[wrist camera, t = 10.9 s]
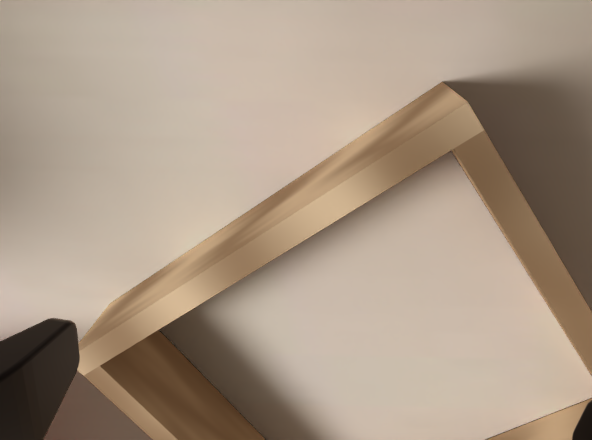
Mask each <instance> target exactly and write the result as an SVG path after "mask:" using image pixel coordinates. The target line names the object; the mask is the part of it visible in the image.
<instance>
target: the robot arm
mask: <svg viewBox="0 0 592 440" xmlns="http://www.w3.org/2000/svg"><path fill="white" fill-rule="evenodd" d="M79 361H80V354H79V345H78V336H77V328H76V325H75V323H74V322H72V321H70V320H63V319H56V318H51V319H47V320H45V321H43V322H41V323H39V324H36V325H34V326H32V327H30V328H28V329H26V330H24V331H22V332H19V333H17V334H15V335H13V336H11V337H9V338H7V339H4V340H2V341H0V440H43V439H44V437H45V435H46V433H47V431H48V429H49V427H50V425H51V423H52V421H53V419H54V417H55V414H56V412H57V410H58V408H59V406H60V404H61V402H62V400H63V398H64V396H65V394H66V392H67V390H68V388H69V386H70V384H71V382H72V380H73V378H74V376H75V374H76V371H77V369H78V366H79ZM572 440H592V400H591V401H589V402H588V404H587V405H586V407H585V409H584V411H583V413H582V415H581V417H580V419H579V421H578V423H577V425H576V427H575V429H574V432H573V436H572Z"/></svg>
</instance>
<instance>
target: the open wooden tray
mask: <svg viewBox="0 0 592 440" xmlns="http://www.w3.org/2000/svg"><path fill="white" fill-rule="evenodd" d="M449 151H452V153H453V154H454V156H455V157H456V159H457V161H458V162H459V164H460V165H461V167H462V169H463V170H464V172H465V173H466V175H467V177H468V178H469V180H470V182H471V183H472V185H473V186H474V188H475V190H476V191H477V193H478V194H479V196H480V198H481V199H482V201H483V202H484V204H485V206H486V207H487V209H488V210H489V212H490V214H491V215H492V217H493V218H494V220H495V222H496V223H497V225H498V226H499V228H500V230H501V231H502V233H503V234H504V236H505V238H506V239H507V241H508V242H509V244H510V246H511V247H512V249H513V250H514V252H515V254H516V255H517V257H518V258H519V260H520V262H521V263H522V265H523V266H524V268H525V270H526V271H527V273H528V274H529V276H530V278H531V279H532V281H533V283H534V284H535V286H536V287H537V289H538V291H539V292H540V294H541V295H542V297H543V299H544V300H545V302H546V303H547V305H548V307H549V308H550V310H551V311H552V313H553V315H554V316H555V318H556V319H557V321H558V323H559V324H560V326H561V327H562V329H563V331H564V332H565V334H566V335H567V337H568V339H569V340H570V342H571V343H572V345H573V347H574V348H575V350H576V351H577V353H578V355H579V356H580V358H581V359H582V361H583V363H584V364H585V366H586V367H587V369H588V371H589V372H590V374H591V375H592V312H591V310H590V308H589V306H588V305H587V303H586V301H585V300H584V298H583V296H582V295H581V293H580V291H579V290H578V288H577V286H576V284H575V283H574V281H573V279H572V278H571V276H570V274H569V273H568V271H567V269H566V267H565V266H564V264H563V262H562V261H561V259H560V257H559V256H558V254H557V252H556V251H555V249H554V247H553V245H552V244H551V242H550V240H549V239H548V237H547V235H546V234H545V232H544V230H543V228H542V227H541V225H540V223H539V222H538V220H537V218H536V217H535V215H534V213H533V212H532V210H531V208H530V206H529V205H528V203H527V201H526V200H525V198H524V196H523V195H522V193H521V191H520V189H519V188H518V186H517V184H516V183H515V181H514V179H513V178H512V176H511V174H510V173H509V171H508V169H507V167H506V166H505V164H504V162H503V161H502V159H501V157H500V156H499V154H498V152H497V150H496V149H495V147H494V145H493V144H492V142H491V140H490V139H489V137H488V135H487V134H486V132H485V130H484V128H483V127H482V125H481V123H480V122H479V120H478V118H477V117H476V115H475V113H474V111H473V110H472V108H471V106H470V105H469V103H468V102H467V101H466V100H465V99H463V98H462V97H461V96H460V95H458V94H457V93H456V92H455V91H453V90H452V89H451V88H450V87H448V86H447V85H446V84H445V83H443V82H441V83H440V84H438V85H437V86H435V87H434V88H432V89H431V90H429V91H428V92H426V93H425V94H423V95H422V96H420V97H419V98H417V99H416V100H414V101H413V102H411V103H410V104H408V105H407V106H405V107H404V108H402V109H401V110H399V111H398V112H396V113H395V114H393V115H392V116H390V117H389V118H387V119H386V120H384V121H383V122H381V123H380V124H378V125H377V126H375V127H374V128H372V129H371V130H369V131H368V132H366V133H365V134H363V135H362V136H360V137H359V138H357V139H356V140H354V141H353V142H351V143H350V144H348V145H347V146H345V147H344V148H342V149H341V150H339V151H338V152H336V153H335V154H333V155H332V156H330V157H329V158H327V159H326V160H324V161H323V162H321V163H320V164H318V165H317V166H315V167H314V168H312V169H311V170H309V171H308V172H306V173H305V174H303V175H302V176H300V177H299V178H297V179H296V180H294V181H293V182H291V183H290V184H288V185H287V186H285V187H284V188H282V189H281V190H279V191H278V192H276V193H275V194H273V195H272V196H270V197H269V198H267V199H266V200H264V201H263V202H261V203H260V204H258V205H257V206H255V207H254V208H252V209H251V210H249V211H248V212H246V213H245V214H243V215H242V216H240V217H239V218H237V219H236V220H234V221H233V222H231V223H230V224H228V225H227V226H225V227H224V228H222V229H221V230H219V231H218V232H216V233H215V234H213V235H212V236H210V237H209V238H207V239H206V240H204V241H203V242H201V243H200V244H198V245H197V246H195V247H194V248H192V249H191V250H189V251H188V252H187V253H185V254H184V255H182V256H181V257H179V258H178V259H176V260H175V261H173V262H172V263H170V264H169V265H167V266H166V267H164V268H163V269H161V270H160V271H158V272H157V273H155V274H154V275H152V276H151V277H149V278H148V279H146V280H145V281H143V282H142V283H140V284H139V285H137V286H136V287H134V288H133V289H131V290H130V291H128V292H127V293H125V294H124V295H122V296H121V297H119V298H118V299H116V300H115V301H113V302H112V303H110V304H109V305H108V307H107V308H106V309H105V310H104V312H103V313H102V314H101V316H100V317H99V318H98V319H97V321H96V322H95V323H94V324H93V326H92V327H91V328H90V330H89V331H88V332H87V333H86V335H85V336H84V337H83V339H82V340H81V341H80V342H79V344H78V345H79V354H80V361H79V366H78V369H77V370H78V371H79V372H80V373H81V374H82V375H83V376H84V377H85V378H86V379H87V380H89V381H90V382H91V383H92V384H93V385H94V386H95V387H96V388H97V389H98V390H99V391H100V392H102V393H103V394H104V395H105V396H106V397H107V398H108V399H109V400H110V401H111V402H112V403H113V404H115V405H116V406H117V407H118V408H119V409H120V410H121V411H122V412H123V413H124V414H125V415H126V416H128V417H129V418H130V419H131V420H132V421H133V422H134V423H135V424H136V425H137V426H138V427H139V428H141V429H142V430H143V431H144V432H145V433H146V434H147V435H148V436H149V437H150V438H151V439H152V440H265V439H264V438H263V437H262V436H261V435H260V433H259V432H258V431H257V430H256V429H255V428H254V427H253V426H252V425H251V424H250V423H249V422H248V421H247V420H246V419H245V418H244V417H243V416H242V415H241V414H240V413H239V412H238V411H237V410H236V409H235V408H234V407H233V406H232V405H231V404H230V403H229V402H228V401H227V400H226V399H225V398H224V397H223V396H222V395H221V393H220V392H219V391H218V390H217V389H216V388H215V387H214V386H213V385H212V384H211V383H210V382H209V381H208V380H207V379H206V378H205V377H204V376H203V375H202V374H201V373H200V372H199V371H198V370H197V369H196V368H195V367H194V366H193V365H192V364H191V363H190V362H189V361H188V360H187V359H186V358H185V357H184V356H183V354H182V353H181V352H180V351H179V350H178V349H177V348H176V347H175V346H174V345H173V344H172V343H171V342H170V341H169V340H168V339H167V338H166V337H165V336H164V335H163V334H162V333H161V332H160V331H159V329H161V328H162V327H164V326H165V325H167V324H169V323H170V322H172V321H174V320H175V319H177V318H179V317H180V316H182V315H183V314H185V313H187V312H188V311H190V310H192V309H193V308H195V307H196V306H198V305H200V304H201V303H203V302H205V301H206V300H208V299H210V298H211V297H213V296H214V295H216V294H218V293H219V292H221V291H223V290H224V289H226V288H227V287H229V286H231V285H232V284H234V283H236V282H237V281H239V280H241V279H242V278H244V277H245V276H247V275H249V274H250V273H252V272H254V271H255V270H257V269H258V268H260V267H262V266H263V265H265V264H267V263H268V262H270V261H271V260H273V259H275V258H276V257H278V256H280V255H281V254H283V253H285V252H286V251H288V250H289V249H291V248H293V247H294V246H296V245H298V244H299V243H301V242H302V241H304V240H306V239H307V238H309V237H311V236H312V235H314V234H316V233H317V232H319V231H320V230H322V229H324V228H325V227H327V226H329V225H330V224H332V223H333V222H335V221H337V220H338V219H340V218H342V217H343V216H345V215H347V214H348V213H350V212H351V211H353V210H355V209H356V208H358V207H360V206H361V205H363V204H364V203H366V202H368V201H369V200H371V199H373V198H374V197H376V196H377V195H379V194H381V193H382V192H384V191H386V190H387V189H389V188H391V187H392V186H394V185H395V184H397V183H399V182H400V181H402V180H404V179H405V178H407V177H408V176H410V175H412V174H413V173H415V172H417V171H418V170H420V169H422V168H423V167H425V166H426V165H428V164H430V163H431V162H433V161H435V160H436V159H438V158H439V157H441V156H443V155H444V154H446V153H448V152H449ZM591 400H592V398H591V399H589V400H586V401H584V402H581V403H579V404H576V405H574V406H571V407H568V408H566V409H563V410H561V411H558V412H556V413H553V414H551V415H548V416H545V417H543V418H540V419H538V420H535V421H533V422H530V423H528V424H525V425H523V426H520V427H517V428H515V429H512V430H510V431H507V432H505V433H502V434H500V435H497V436H494V437H492V438H489V439H487V440H572V436H573V432H574V429H575V427H576V425H577V423H578V421H579V419H580V417H581V415H582V413H583V411H584V409H585V407H586V405H587V404H588V402H589V401H591Z"/></svg>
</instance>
